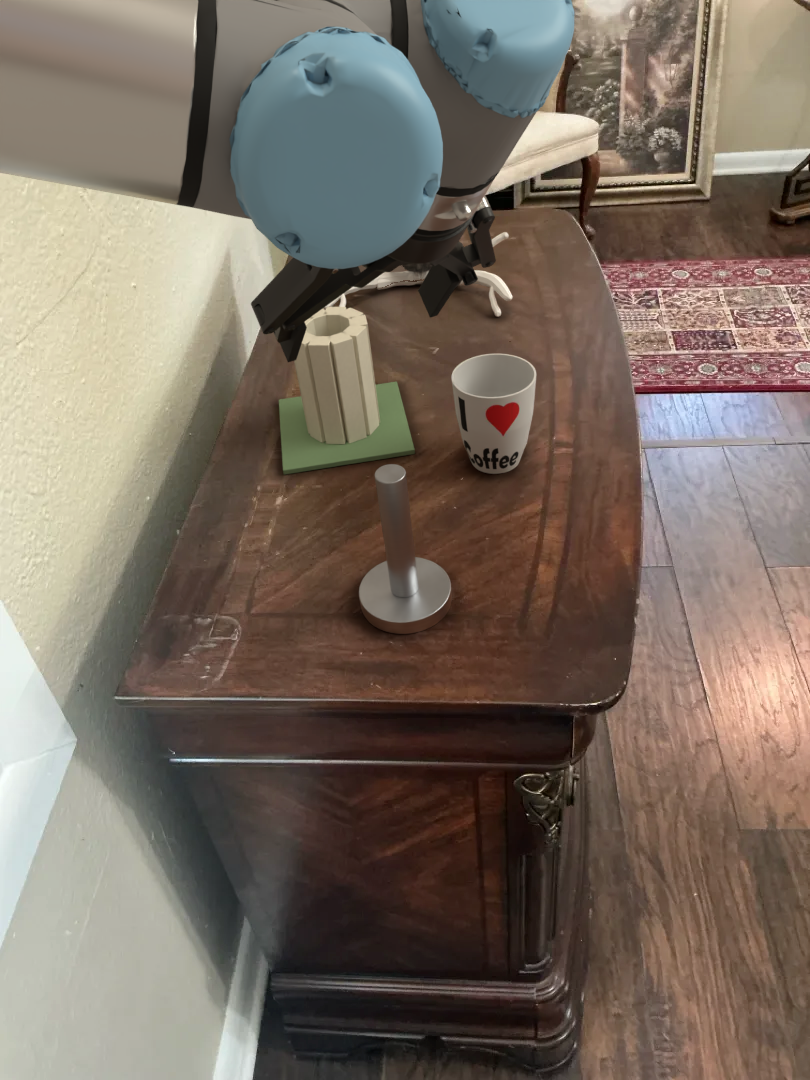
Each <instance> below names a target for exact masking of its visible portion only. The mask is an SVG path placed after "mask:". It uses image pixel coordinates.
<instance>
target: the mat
mask: <svg viewBox="0 0 810 1080" xmlns="http://www.w3.org/2000/svg"><path fill="white" fill-rule="evenodd" d="M375 385H376V393H377V401H378V408H379V416H380V423H379V426H378V427H377V428H376V429H375V431H374V432H373V433H372V434H371V435H366V436H367V437H366V438H364V439H361V440H358V441H355V442H353V443H350V444H349V443H348V441H347V440H346V442H345V444H326V441H325V442H323V443H322V442H320V441H318V440H316V439H315V438H313V437H311V436H310V434H309V433H308V429H307V424H306V419H305V414H304V409H303V404H302V399H301V395H299V396H293V397H287V398H280V399H278V413H279V426H280V428H279V429H280V443H281V444H280V445H281V462H282V463H281V464H282V473H283V475H291V474H297V473H303V472H309V471H317V470H322V469H328V468H334V467H335V468H336V467H340V466H347V465H354V464H359V463H366V462H373V461H379V460H385V459H392V458H399V457H403V456H411V455H415V454H416V448H415V445H414V442H413V438H412V434H411V430H410V427H409V422H408V419H407V415H406V410H405V407H404V403H403V400H402V395H401V392H400V388H399V384H398V381H391V382H383V383H378V384H375Z"/></svg>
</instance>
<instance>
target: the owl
mask: <svg viewBox="0 0 810 1080" xmlns="http://www.w3.org/2000/svg"><path fill="white" fill-rule="evenodd" d="M509 236H510V235H509V233H508V232H507V231H504V232H501V233H500V234H498V235H496V236H494V237H493V238H491V240H492V245H493V248H494V247H495V246H497V245H499V244H500V243H502V242H503V241H506V240H507V239H509ZM401 267H402V268H403V270H404V271H391V272H384V273H383V274H381V275H380V276H378V277H377V278H376V279H374V280H373V281H371V282H370V283H369V284H367V285H366V286H364V287H363V288H358V287H352V288H350V289H349V290H348V291H346V292H345V293H344V294H342V295H341V296H339V297H338V298H337V299H335V300H334V301H332V302H331V303H330V304H328V305H327V306H326V307H324V308H323V309H324V310H326V308H327V307H333V306H334V305H335V304H336V303H337V302H338V301H339V300H340V302H339V305H338V307H346V305H347V298H346V296H347V295H348V294H352V293H355V292H358V291H361V290H368V289H375V288H376V287H377V288H376V289H377V290H385V289H390V288H393V287H397V286H399V287H400V286H416V285H421V284H422V283H423V281H417V282H408V281H405V282H400V281H403V280H410V281H413V280H414V281H415V280H420V279H422V280H423V279H425V277H426V276H427V274H428V272H429V270H430V269H431V267H432V264H430V263H424V264H411V263H410V264H407V265H401ZM474 271H475V273H476V275H477V278H478V280H477V281H476V282H475V283H473V284H472V285H479V286H483V287H486V288H489V292H488V298H489V302H490V307H491V309H492V311H493V314H494V316H495V317H496V318H497V317H501V315H502V310H501V308H500V306H499V304H498V301H497V298H496V296H495V293H496V294H498V296H500V297H501V299H503V301H506V302H511V301H512V300H513V297H514V295H512V292H511V291H510V288H509V287H508V285H507V283H505V281H504V280H503V279H502V278H501V277H500V276H499V275H496V274H495V273H491V272H489V271H485V270H478V269H476V270H475V269H474ZM394 282H398V283H394ZM391 283H393V284H391ZM463 283H464V282H463V280H462V281H461V283H460V284H459V285H458V286H461V287H462V286H465V285H464V284H463ZM390 284H391V285H390ZM461 284H463V285H461ZM387 285H389V286H387ZM385 286H387V287H385ZM382 287H383V288H382Z"/></svg>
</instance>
